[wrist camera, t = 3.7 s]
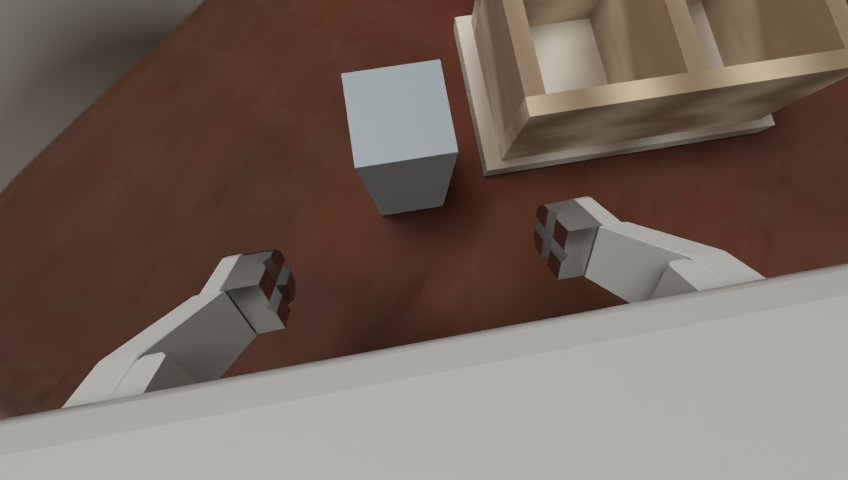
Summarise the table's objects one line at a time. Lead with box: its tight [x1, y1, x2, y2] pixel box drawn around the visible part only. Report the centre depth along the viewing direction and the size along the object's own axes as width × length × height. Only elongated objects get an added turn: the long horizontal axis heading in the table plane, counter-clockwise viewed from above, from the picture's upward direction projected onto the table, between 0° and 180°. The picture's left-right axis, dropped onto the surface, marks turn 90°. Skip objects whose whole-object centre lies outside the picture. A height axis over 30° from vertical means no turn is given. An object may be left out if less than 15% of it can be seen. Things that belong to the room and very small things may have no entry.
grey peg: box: [341, 59, 458, 216], centre depth 16 cm, size 4×4×8 cm
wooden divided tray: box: [454, 0, 848, 176], centre depth 18 cm, size 19×11×6 cm, turn 100°
